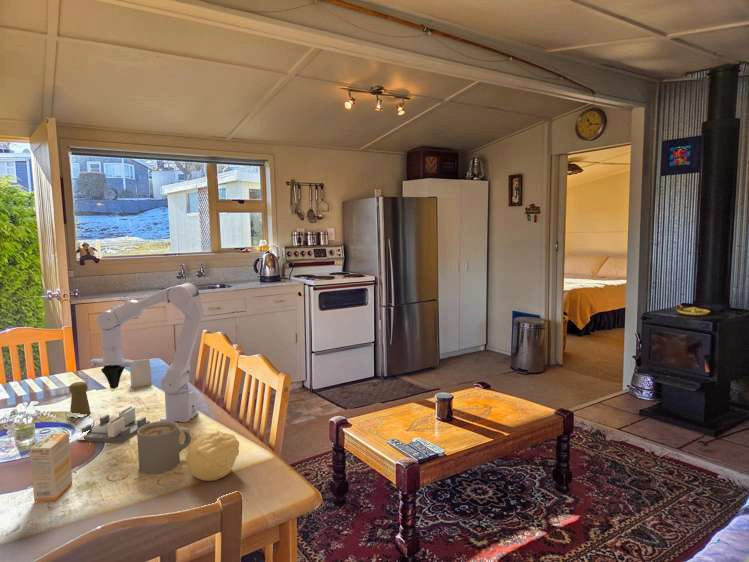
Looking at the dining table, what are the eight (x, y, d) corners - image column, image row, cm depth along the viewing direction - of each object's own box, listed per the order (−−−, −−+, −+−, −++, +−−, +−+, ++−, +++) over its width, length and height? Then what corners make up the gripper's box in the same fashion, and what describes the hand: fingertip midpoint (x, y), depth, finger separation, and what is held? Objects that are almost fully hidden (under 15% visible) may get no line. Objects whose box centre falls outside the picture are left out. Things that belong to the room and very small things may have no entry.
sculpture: (210, 491, 120) (209, 447, 119) (178, 477, 126) (176, 436, 125) (246, 471, 129) (245, 431, 128) (214, 459, 136) (213, 421, 135)
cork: (81, 418, 164) (79, 386, 163) (65, 417, 165) (63, 384, 164) (95, 412, 170) (93, 380, 168) (79, 410, 171) (77, 379, 170)
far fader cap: (135, 419, 159) (134, 406, 159) (125, 425, 154) (124, 412, 154) (129, 419, 160) (128, 405, 159) (119, 425, 155) (118, 411, 154)
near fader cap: (125, 430, 151) (124, 416, 151) (114, 437, 146) (113, 422, 146) (119, 429, 152) (118, 415, 151) (108, 436, 147) (107, 422, 146)
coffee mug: (142, 477, 126) (140, 439, 125) (136, 461, 135) (134, 425, 133) (197, 463, 133) (195, 427, 132) (188, 449, 142) (187, 415, 141)
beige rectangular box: (151, 384, 199) (150, 359, 198) (133, 387, 195) (131, 362, 194) (149, 382, 202) (147, 357, 201) (130, 385, 198) (129, 360, 197)
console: (149, 424, 159) (149, 415, 159) (121, 443, 146) (120, 433, 145) (109, 421, 161) (108, 412, 161) (77, 440, 148) (77, 430, 147)
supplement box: (52, 484, 123) (48, 432, 121) (73, 483, 123) (69, 432, 122) (32, 503, 115) (28, 447, 113) (54, 502, 115) (50, 447, 114)
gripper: (82, 349, 160) (85, 390, 161) (124, 350, 158) (127, 392, 159) (98, 343, 167) (100, 383, 168) (138, 345, 165) (140, 385, 166)
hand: (114, 387), depth 164 cm, fingers closed
